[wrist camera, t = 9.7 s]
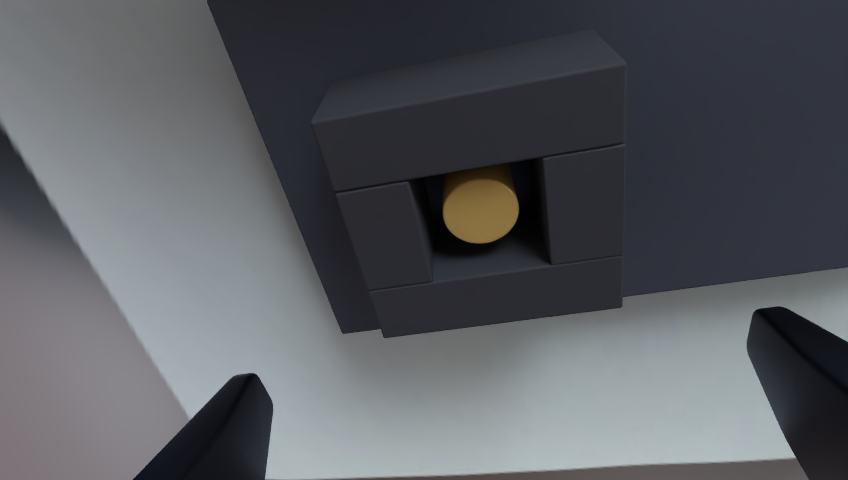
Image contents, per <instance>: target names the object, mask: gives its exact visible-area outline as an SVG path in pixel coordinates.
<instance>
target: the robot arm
mask: <svg viewBox="0 0 848 480" xmlns="http://www.w3.org/2000/svg"><path fill="white" fill-rule="evenodd" d="M747 351H748V355H749V358H750V360H751V362H752V364H753V367H754V369H755V371H756V373H757V376H758V378H759V380H760V383H761V385H762V387H763V389H764V392H765V394H766V396H767V398H768V401H769V403H770V405H771V407H772V410H773V412H774V414H775V416H776V419H777V421H778V423H779V425H780V428H781V430H782V432H783V434H784V436H785V438H786V440H787V442H788V444H789V445H790V447H791V449H792V451H793V453H794V455H795V456H796V458H797V460H798V461H799V463H800V465H801V467H802V468H803V470H804V472H805V473H806V475H807V477H808V479H809V480H848V342H847V341H845V340H843V339H841V338H839V337H838V336H836V335H834V334H832V333H830V332H829V331H827V330H825V329H823V328H821V327H820V326H818V325H816V324H814V323H812V322H810V321H809V320H807V319H805V318H803V317H801V316H800V315H798V314H796V313H794V312H792V311H791V310H789V309H787V308H784V307H780V306H778V307H769V308H761V309H757V310H756V311H755V312H754V313H753V315H752V319H751V324H750V329H749V334H748V338H747ZM272 416H273V403H272V400H271V398H270V396H269V394H268V392H267V391H266V389H265V387H264V385H263V384H262V382H261V380H260V378H259V377H258V376H257V375H256V374H254V373H248V374H240V375H236V376H233V377H232V378H231V379H230V380H229V381H228V382H227V383H226V384H225V385H224V386H223V387H222V388H221V389H220V390H219V391H218V392H217V393H216V394H215V395H214V396H213V397H212V398H211V399H210V400H209V401H208V403H207V404H206V405H205V406H204V407H203V408H202V409H201V410H200V411H199V412H198V413H197V414H196V415H195V416H194V417H193V418H192V419H191V420H190V421H189V422H188V423H187V424H186V425H185V426H184V427H183V428H182V429H181V431H179V433H178V434H177V435H176V436H175V437H174V438H173V439H172V440H171V441H170V442H169V443H168V444H167V445H166V446H165V447H164V448H163V449H162V450H161V451H160V452H159V453H158V454H157V455H156V456H155V457H154V459H152V460H151V461H150V463H149V464H148V465H147V466H146V467H145V468H144V469H143V470H142V471H141V472H140V473H139V474H138V475H137V476H136V477H135V478H134V479H133V480H265V473H266V465H267V457H268V449H269V441H270V432H271V424H272Z"/></svg>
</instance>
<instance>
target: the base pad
mask: <svg viewBox="0 0 848 480" xmlns="http://www.w3.org/2000/svg"><path fill="white" fill-rule="evenodd" d="M207 3H208V6H209V8H210V11H211V13H212V15H213V18H214V20H215V23H216V25H217V28H218V30H219V33H220V35H221V38H222V40H223V42H224V45H225V47H226V50H227V52H228V55H229V57H230V60H231V62H232V65H233V67H234V69H235V72H236V74H237V77H238V79H239V82H240V84H241V87H242V89H243V91H244V94H245V96H246V99H247V101H248V104H249V106H250V109H251V111H252V114H253V116H254V118H255V121H256V123H257V126H258V128H259V131H260V133H261V136H262V138H263V141H264V143H265V145H266V148H267V150H268V153H269V155H270V158H271V160H272V163H273V165H274V168H275V170H276V172H277V175H278V177H279V180H280V182H281V185H282V187H283V190H284V192H285V194H286V197H287V199H288V202H289V204H290V207H291V209H292V212H293V214H294V217H295V219H296V221H297V224H298V226H299V229H300V231H301V234H302V236H303V239H304V241H305V244H306V246H307V248H308V251H309V253H310V256H311V258H312V261H313V263H314V266H315V268H316V270H317V273H318V275H319V278H320V280H321V283H322V285H323V288H324V290H325V293H326V295H327V297H328V300H329V302H330V305H331V307H332V310H333V312H334V315H335V317H336V320H337V322H338V324H339V327H340V329H341V332H342V333H343V334H347V333H354V332H362V331H369V330H377V329H381V328H380V325H379V322H378V320H377V317H376V314H375V311H374V308H373V305H372V302H371V299H370V296H369V293H368V289H367V288H366V285H365V282H364V279H363V276H362V273H361V270H360V267H359V264H358V261H357V259H356V256H355V253H354V250H353V247H352V244H351V241H350V238H349V235H348V232H347V229H346V227H345V224H344V221H343V218H342V215H341V212H340V209H339V206H338V203H337V200H336V198H335V192H334V190H333V188H332V185H331V183H330V180H329V177H328V174H327V171H326V168H325V165H324V162H323V159H322V156H321V153H320V151H319V148H318V145H317V142H316V139H315V136H314V133H313V130H312V127H311V120H312V118H313V116H314V114H315V112H316V111H317V109H318V107H319V105H320V103H321V101H322V99H323V97H324V96H325V94H326V92H327V90H328V88H329V86H330V84H331V82H332V81H334V80H339V79H344V78H349V77H354V76H359V75H364V74H369V73H374V72H379V71H384V70H389V69H394V68H399V67H404V66H409V65H414V64H419V63H424V62H429V61H434V60H439V59H444V58H449V57H454V56H459V55H464V54H469V53H474V52H479V51H484V50H489V49H494V48H499V47H504V46H509V45H514V44H519V43H524V42H529V41H534V40H539V39H544V38H549V37H554V36H559V35H564V34H569V33H574V32H579V31H584V30H589V29H591V30H593V31H594V32H595V33H596V34H597V35H599V36H600V37H601V38H602V39H603V40H604V41H605V42H606V43H607V44H608V45H609V46H610V47H611V48H612V49H613V50H614V51H615V52H616V53H617V54H618V55H619V56H620V57H621V58H622V59H624V60H625V61H626V63H627V87H626V137H625V142H624V143H625V145H626V162H625V211H624V253H623V297H626V296H633V295H641V294H649V293H656V292H664V291H671V290H679V289H686V288H694V287H701V286H709V285H716V284H724V283H732V282H739V281H747V280H754V279H762V278H769V277H777V276H784V275H792V274H799V273H807V272H815V271H822V270H830V269H837V268H845V267H848V0H207ZM424 182H425V186H426V190H427V195H428V199H429V204H430V208H431V212H432V217H433V221H434V224H439V223H445V225H446V226H447V228H448V229H449V231H450V232H451V233H452V234H453V235H455V236H456V237H458V238H459V239H461V240H463V241H466V242H470V243H488V242H492V241H495V240H497V239H499V238H501V237H503V236H504V235H506V234H507V233H508V232H509V231H510V230H511V229H512V227H513V226H514V224H515V223H516V220H517V218H518V214H519V211H522V210H528V209H535V208H534V201H533V190H532V180H531V169H530V159H529V160H523V161H517V162H511V163H505V164H499V165H494V166H488V167H482V168H476V169H470V170H464V171H458V172H452V173H446V174H441V175H435V176H429V177H424Z"/></svg>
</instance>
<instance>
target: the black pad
mask: <svg viewBox="0 0 848 480" xmlns="http://www.w3.org/2000/svg"><path fill="white" fill-rule="evenodd" d="M626 87H627V63H626V61H625V60H624V59H622V58H621V57H620V56H619V55H618V54H617V53H616V52H615V51H614V50H613V49H612V48H611V47H610V46H609V45H608V44H607V43H606V42H605V41H604V40H603V39H602V38H601V37H600V36H599V35H597V34H596V33H595V32H594V31H593V30H591V29H589V30H584V31H579V32H574V33H569V34H564V35H559V36H554V37H549V38H544V39H539V40H534V41H529V42H524V43H519V44H514V45H509V46H504V47H499V48H494V49H489V50H484V51H479V52H474V53H469V54H464V55H459V56H454V57H449V58H444V59H439V60H434V61H429V62H424V63H419V64H414V65H409V66H404V67H399V68H394V69H389V70H384V71H379V72H374V73H369V74H364V75H359V76H354V77H349V78H344V79H339V80H334V81H332V82H331V84H330V86H329V88H328V90H327V92H326V94H325V96H324V97H323V99H322V101H321V103H320V105H319V107H318V109H317V111H316V112H315V114H314V116H313V118H312V120H311V127H312V130H313V133H314V136H315V139H316V142H317V145H318V148H319V151H320V153H321V156H322V159H323V162H324V165H325V168H326V171H327V174H328V177H329V180H330V183H331V185H332V188H333V190H334V192H335V198H336V200H337V203H338V206H339V209H340V212H341V215H342V218H343V221H344V224H345V227H346V229H347V232H348V235H349V238H350V241H351V244H352V247H353V250H354V253H355V256H356V259H357V261H358V264H359V267H360V270H361V273H362V276H363V279H364V282H365V285H366V288H367V289H368V293H369V296H370V299H371V302H372V305H373V308H374V311H375V314H376V317H377V320H378V322H379V325H380V328H381V331H382V334H383V337H384V338H389V337H397V336H405V335H413V334H420V333H428V332H436V331H444V330H451V329H459V328H467V327H475V326H483V325H490V324H498V323H506V322H514V321H521V320H529V319H537V318H545V317H552V316H560V315H568V314H576V313H583V312H591V311H599V310H607V309H614V308H621V307H622V297H623V253H624V211H625V162H626V145H625V143H624V142H625V137H626ZM529 159H530V169H531V180H532V190H533V201H534V208H535V209H528V210H522V211H519V214H518V218H517V220H516V223H515V224H514V226H513V227H512V229H511V230H510V231H509V232H508V233H507V234H506V235H504V236H503V237H501V238H499V239H497V240H495V241H492V242H488V243H470V242H466V241H463V240H461V239H459V238H458V237H456V236H455V235H453V234H452V233H451V232H450V231H449V229H448V228H447V226H446V225H445V223H439V224H434V221H433V217H432V212H431V208H430V204H429V199H428V195H427V190H426V186H425V182H424V177H429V176H435V175H441V174H446V173H452V172H458V171H464V170H470V169H476V168H482V167H488V166H494V165H499V164H505V163H511V162H517V161H523V160H529Z"/></svg>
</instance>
